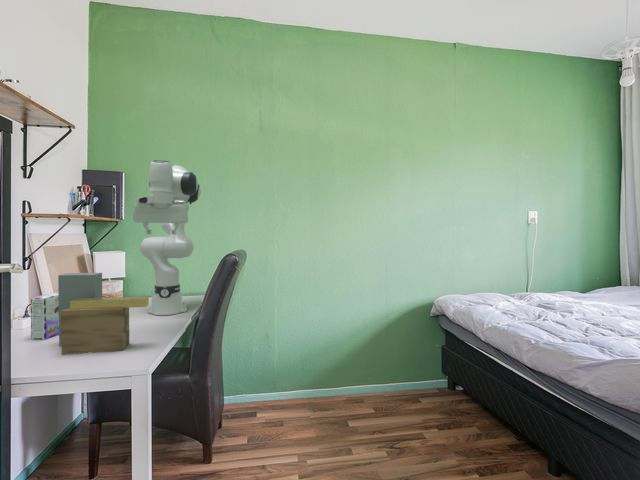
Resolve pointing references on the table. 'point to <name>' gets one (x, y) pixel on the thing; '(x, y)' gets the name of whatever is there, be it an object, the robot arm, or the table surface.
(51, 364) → the table surface
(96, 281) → the blue-gray rectangular block
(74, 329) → the walnut block
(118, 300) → the olive wooden beam
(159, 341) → the table surface
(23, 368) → the table surface
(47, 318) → the candy box
